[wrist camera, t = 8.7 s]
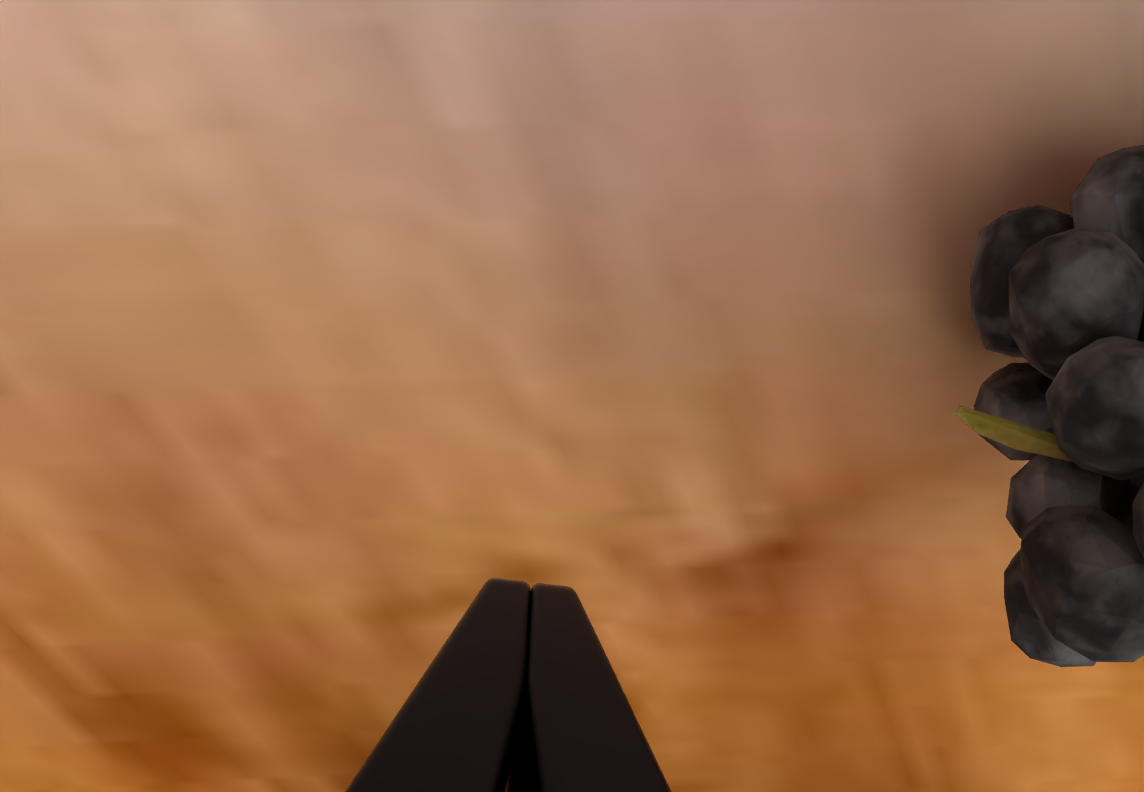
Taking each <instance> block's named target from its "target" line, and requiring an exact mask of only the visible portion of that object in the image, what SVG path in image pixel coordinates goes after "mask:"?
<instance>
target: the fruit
mask: <svg viewBox="0 0 1144 792" xmlns="http://www.w3.org/2000/svg"><path fill="white" fill-rule="evenodd" d="M1070 205H1071V210H1072V216H1073V217H1071V216H1069V215H1066V214H1063V213H1061V212H1058V211H1056V210H1053V209H1050V208H1048V207H1045V206H1043V205H1040V204H1038V205H1034V206H1030V207H1026V208H1021V209H1017V210H1013V211H1009V212H1008V213H1006V214H1004V215H1003V216H1001V217H1000V218H998V219H997V220H995V221H994V222H992V223H991V224H989V225H988V226H986V227H985V228H983V229H982V230H980V233H979V236H978V240H977V243H976V246H975V249H974V253H973V256H972V266H971V279H970V295H971V319H972V321H973V323H974V325H975V327H976V329H977V331H978V333H979V336H980V338H981V340H982V342H983V344H984V346H985V348H986V349H988V350H991V351H995V352H998V353H1002V354H1005V355H1009V356H1012V357H1025V359H1026V360H1027V362H1028V363H1011V364H1009V365H1007V366H1005V367H1004V368H1002V369H1000V370H998V371H997V372H995V373H993V374H992V375H991V376H990V377H989V378H988V379H987V380H986V381H985V382H983V383H982V385H981V387H980V390H979V393H978V396H977V399H976V402H975V404H974V410H972V409H969V408H965V407H962V406H960V407H959V408H958V410H957V411H956V412H955V414H954V415H956V416H957V417H958V418H959V419H961V420H962V421H963V422H965V423H966V424H967V425H968V426H970V427H971V428H972V429H973V430H975V431H976V432H978V434H979V435H980V436H981V437H982V438H984V439H985V440H986V441H987V442H989V443H990V444H991V445H992V446H994V447H995V448H996V449H997V450H999V451H1000V452H1001V453H1002V454H1004V455H1005V456H1006V457H1007V458H1009V459H1010V460H1030V461H1029V462H1028V463H1027V464H1026V465H1025V466H1024V467H1023V468H1022V469H1021V470H1019V471H1018V472H1017V473H1016V474H1015V475H1014V476H1013V477H1012V478H1011V483H1010V490H1009V498H1008V505H1007V513H1006V518H1007V519H1008V521H1009V522H1010V524H1011V525H1012V527H1013V528H1014V530H1015V531H1016V533H1017V534H1018V536H1019V537H1020V538H1021V539H1022V541H1021V549H1020V550H1019V551H1018V552H1017V554H1016V555H1015V556H1014V557H1013V559H1012V560H1011V562H1010V564H1009V565H1008V567H1007V569H1006V570H1005V572H1004V599H1005V605H1006V611H1007V617H1008V623H1009V629H1010V635H1011V640H1012V641H1013V642H1014V643H1015V644H1016V645H1017V646H1018V647H1019V648H1020V649H1021V650H1022V651H1023V652H1024V653H1025V654H1026V655H1027V656H1028V657H1029V658H1032V659H1035V660H1039V661H1042V662H1046V663H1049V664H1053V665H1056V666H1060V667H1071V666H1094V664H1095V663H1096V662H1134V661H1135V660H1137V659H1139V658H1140V657H1142V656H1144V145H1141V146H1135V147H1129V148H1123V149H1121V150H1118V151H1116V152H1113V153H1111V154H1108V155H1106V156H1103V157H1101V158H1098V159H1097V161H1096V162H1095V163H1094V165H1093V166H1092V168H1091V169H1090V171H1089V172H1088V173H1087V175H1086V176H1085V178H1084V179H1083V180H1082V182H1081V183H1080V185H1079V186H1078V188H1077V189H1076V191H1075V192H1074V194H1073V196H1072V197H1071V199H1070Z"/></svg>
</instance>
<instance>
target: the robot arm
mask: <svg viewBox="0 0 1144 792" xmlns="http://www.w3.org/2000/svg"><path fill="white" fill-rule="evenodd" d="M505 791H506V792H671V790H670V788H669V786H668V784H667V782H666V780H665V778H664V775H663V773H662V771H661V769H660V767H659V765H658V763H657V761H656V759H655V757H654V755H653V752H652V750H651V748H650V746H649V744H648V742H647V740H646V738H645V736H644V734H643V731H642V729H641V727H640V725H639V723H638V721H637V719H636V717H635V715H634V713H633V710H632V708H631V706H630V704H629V702H628V700H627V698H626V696H625V694H624V692H623V690H622V687H621V685H620V683H619V681H618V679H617V677H616V675H615V673H614V671H613V669H612V666H611V664H610V662H609V660H608V658H607V656H606V654H605V652H604V650H603V648H602V645H601V643H600V641H599V639H598V637H597V635H596V633H595V631H594V629H593V627H592V625H591V622H590V620H589V618H588V616H587V614H586V612H585V610H584V608H583V606H582V604H581V601H580V599H579V597H578V595H577V594H576V592H575V591H574V590H573V589H572V588H571V587H568V586H559V585H551V584H543V583H537V584H534V585H533V586H532V588H531V591H530V586H529V584H528V583H527V582H524V581H518V580H509V579H501V578H491V579H489V580H488V581H487V582H486V583H485V584H484V585H483V587H482V588H481V590H480V591H479V593H478V594H477V596H476V597H475V599H474V600H473V602H472V603H471V605H470V606H469V608H468V609H467V611H466V612H465V614H464V615H463V617H462V618H461V620H460V621H459V623H458V624H457V626H456V627H455V629H454V630H453V632H452V633H451V635H450V636H449V638H448V639H447V641H446V642H445V644H444V645H443V647H442V648H441V650H440V651H439V653H438V654H437V656H436V657H435V659H434V660H433V661H432V663H431V664H430V666H429V667H428V669H427V670H426V672H425V673H424V675H423V676H422V678H421V679H420V681H419V682H418V684H417V685H416V687H415V688H414V690H413V691H412V693H411V694H410V696H409V697H408V699H407V700H406V702H405V703H404V705H403V706H402V708H401V709H400V711H399V712H398V714H397V715H396V717H395V718H394V720H393V721H392V723H391V724H390V726H389V727H388V729H387V730H386V732H385V733H384V735H383V736H382V738H381V739H380V740H379V742H378V743H377V745H376V746H375V748H374V749H373V751H372V752H371V754H370V755H369V757H368V758H367V760H366V761H365V763H364V764H363V766H362V767H361V769H360V770H359V772H358V773H357V775H356V776H355V778H354V779H353V781H352V782H351V784H350V785H349V787H348V788H347V790H346V791H345V792H505Z"/></svg>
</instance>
